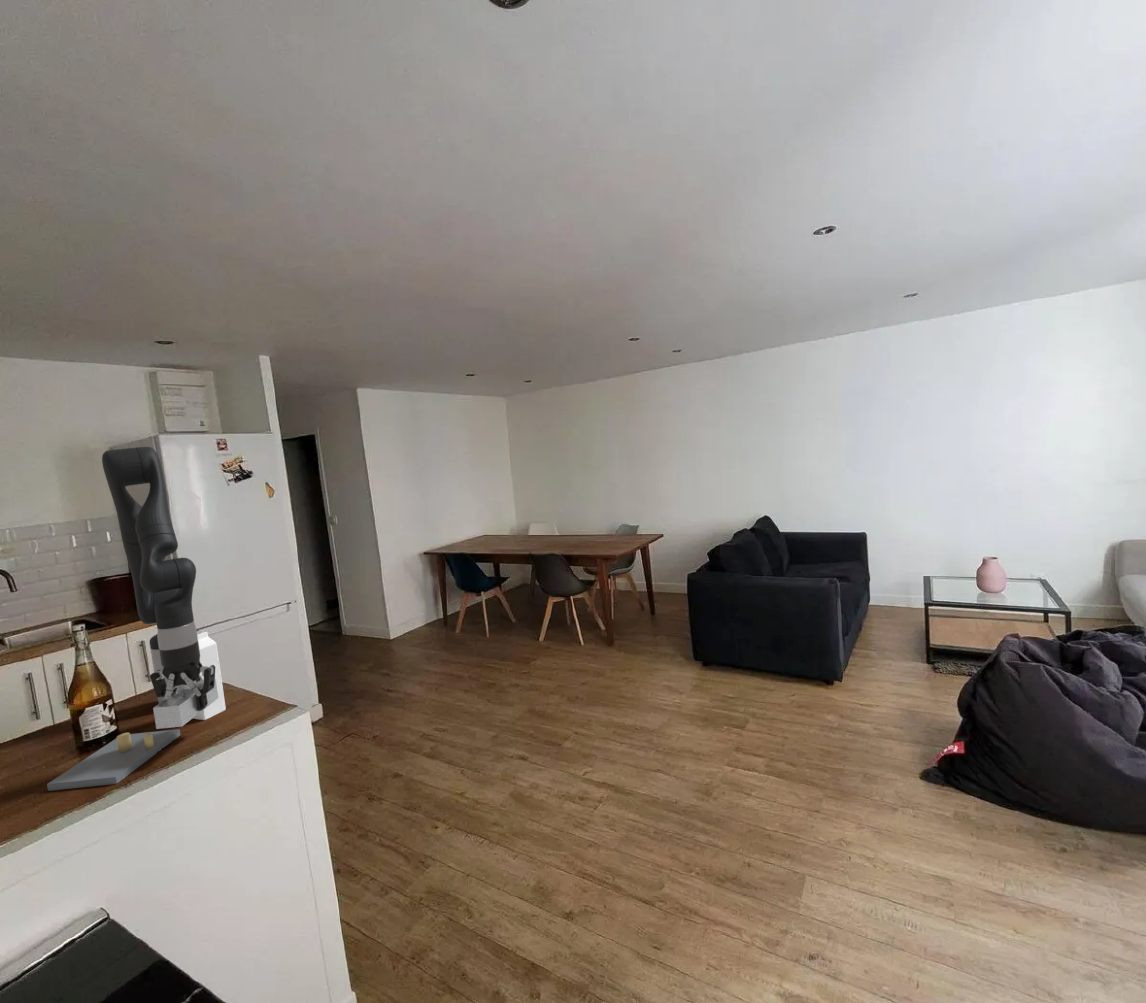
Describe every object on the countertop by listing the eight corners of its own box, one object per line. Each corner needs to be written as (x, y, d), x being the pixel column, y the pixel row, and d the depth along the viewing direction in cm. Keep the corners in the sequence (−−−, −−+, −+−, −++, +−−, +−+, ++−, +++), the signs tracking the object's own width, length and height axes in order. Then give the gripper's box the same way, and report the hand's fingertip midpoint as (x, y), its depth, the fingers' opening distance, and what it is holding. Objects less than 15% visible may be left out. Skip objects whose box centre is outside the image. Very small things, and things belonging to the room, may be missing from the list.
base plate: (122, 740, 133) (119, 721, 132) (180, 735, 133) (177, 715, 133) (48, 790, 113) (44, 768, 112) (116, 783, 113) (113, 761, 113)
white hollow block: (182, 726, 122) (178, 705, 121) (156, 728, 121) (153, 708, 121) (218, 698, 136) (215, 679, 135) (195, 700, 135) (192, 681, 135)
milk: (189, 718, 143) (176, 638, 141) (211, 707, 148) (199, 630, 146) (205, 720, 140) (192, 639, 139) (226, 709, 146) (215, 631, 144)
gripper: (219, 634, 131) (228, 700, 133) (158, 639, 130) (168, 706, 132) (200, 646, 123) (210, 715, 125) (135, 651, 123) (146, 721, 124)
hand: (188, 710), depth 128 cm, fingers closed on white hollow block, 5 cm apart
